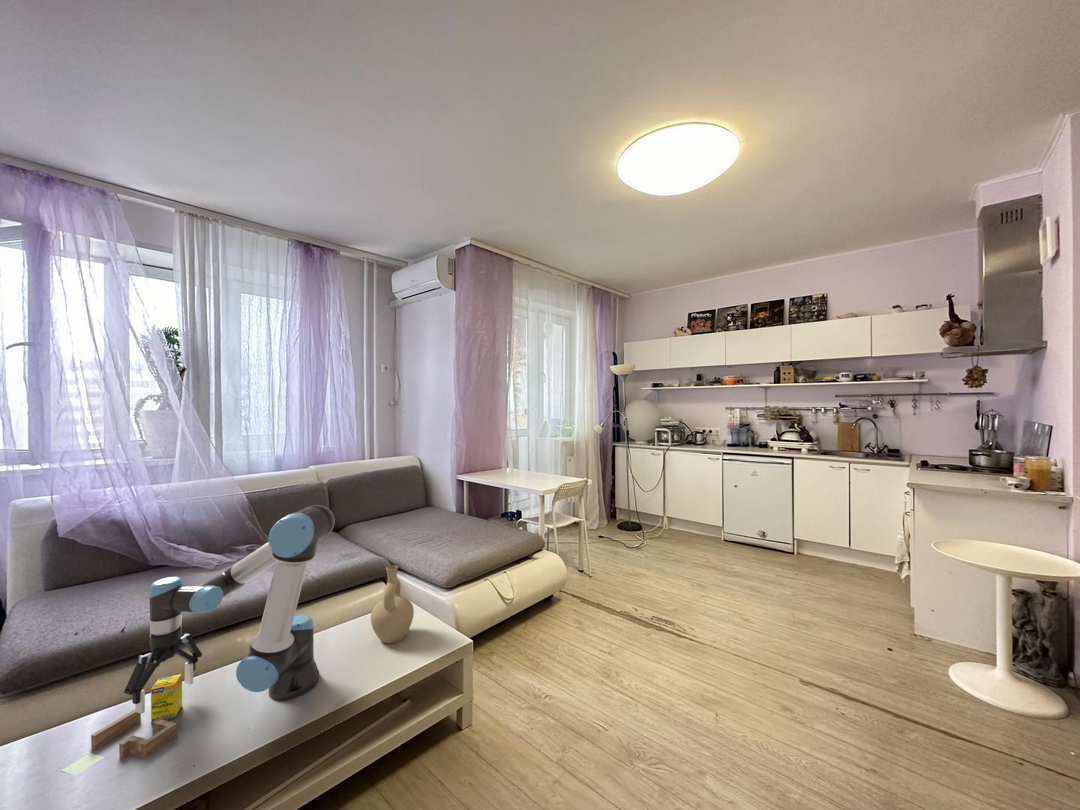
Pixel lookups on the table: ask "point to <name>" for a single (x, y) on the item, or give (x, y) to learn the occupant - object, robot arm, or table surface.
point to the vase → (392, 611)
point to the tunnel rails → (134, 744)
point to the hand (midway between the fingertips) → (165, 697)
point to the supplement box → (166, 697)
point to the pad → (82, 764)
